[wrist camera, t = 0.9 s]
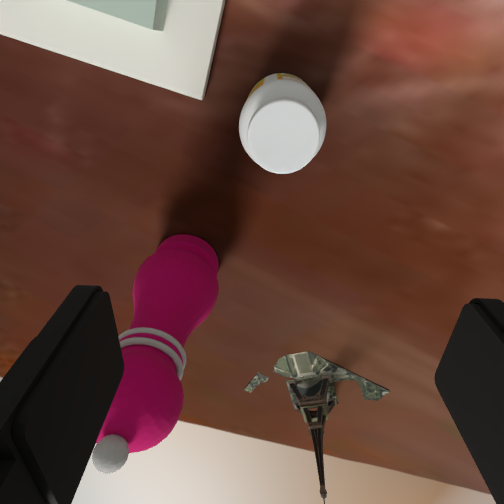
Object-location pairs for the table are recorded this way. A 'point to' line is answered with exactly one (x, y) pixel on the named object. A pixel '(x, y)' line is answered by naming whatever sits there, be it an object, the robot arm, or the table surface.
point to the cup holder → (125, 36)
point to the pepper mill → (157, 347)
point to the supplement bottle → (282, 123)
